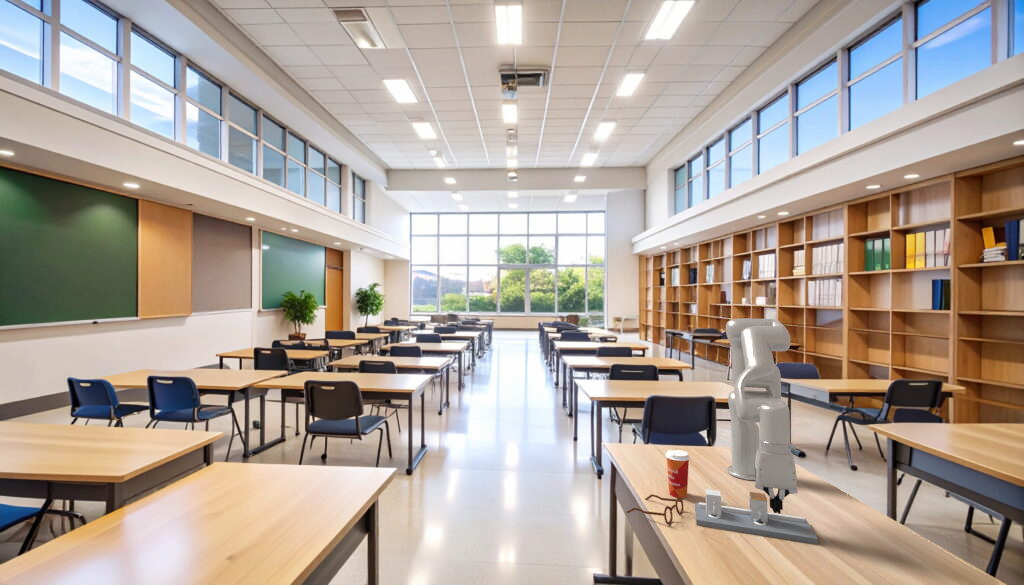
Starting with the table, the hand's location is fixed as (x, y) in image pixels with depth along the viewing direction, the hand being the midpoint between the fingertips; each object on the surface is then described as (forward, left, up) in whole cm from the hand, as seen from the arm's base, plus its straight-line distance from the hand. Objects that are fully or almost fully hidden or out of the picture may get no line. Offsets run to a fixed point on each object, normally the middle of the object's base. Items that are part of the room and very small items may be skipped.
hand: (776, 511), depth 127 cm
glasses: (+2, -33, -5) cm, 34 cm away
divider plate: (+1, -6, -5) cm, 8 cm away
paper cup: (-13, -26, -5) cm, 30 cm away
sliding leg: (0, -4, -3) cm, 5 cm away
